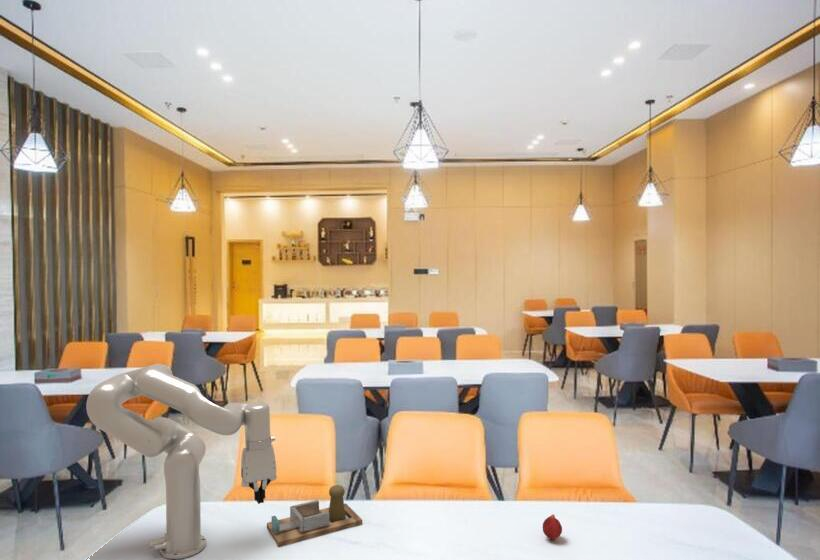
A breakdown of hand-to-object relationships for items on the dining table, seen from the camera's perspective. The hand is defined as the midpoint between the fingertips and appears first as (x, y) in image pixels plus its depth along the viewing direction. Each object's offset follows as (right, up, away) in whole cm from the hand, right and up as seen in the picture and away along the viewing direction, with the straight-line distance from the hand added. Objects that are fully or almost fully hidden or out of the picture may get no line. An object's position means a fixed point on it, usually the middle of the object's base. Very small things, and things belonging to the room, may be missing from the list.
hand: (259, 501), depth 158 cm
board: (+15, -12, +9) cm, 22 cm away
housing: (+11, -10, +7) cm, 16 cm away
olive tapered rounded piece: (+22, -12, +13) cm, 28 cm away
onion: (+91, -12, 0) cm, 92 cm away
